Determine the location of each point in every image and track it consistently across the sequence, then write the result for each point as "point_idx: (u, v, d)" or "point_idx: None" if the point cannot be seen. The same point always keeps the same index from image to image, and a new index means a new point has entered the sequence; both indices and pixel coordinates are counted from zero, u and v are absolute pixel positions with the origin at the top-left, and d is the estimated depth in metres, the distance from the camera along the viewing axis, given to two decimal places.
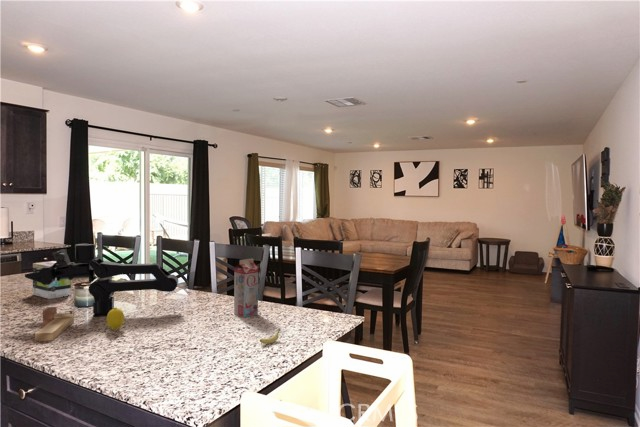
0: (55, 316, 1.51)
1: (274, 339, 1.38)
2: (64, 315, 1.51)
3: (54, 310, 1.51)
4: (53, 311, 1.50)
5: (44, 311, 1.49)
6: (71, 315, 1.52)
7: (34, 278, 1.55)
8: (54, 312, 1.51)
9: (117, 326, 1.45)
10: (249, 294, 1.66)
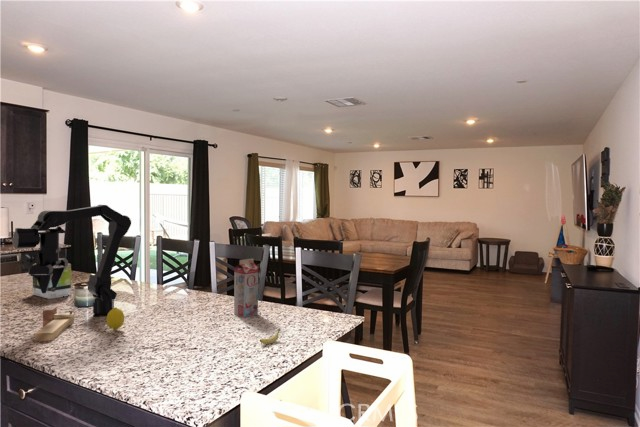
0: (55, 316, 1.51)
1: (274, 339, 1.38)
2: (64, 315, 1.51)
3: (54, 310, 1.51)
4: (53, 311, 1.50)
5: (44, 311, 1.49)
6: (71, 315, 1.52)
7: (45, 283, 1.45)
8: (54, 312, 1.51)
9: (117, 326, 1.45)
10: (249, 294, 1.66)
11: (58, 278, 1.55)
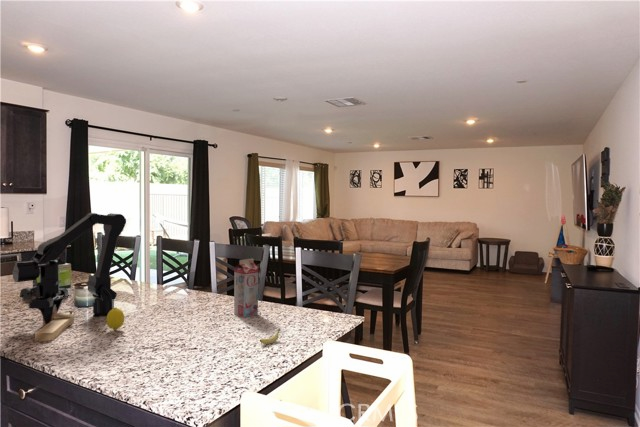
0: (55, 316, 1.51)
1: (274, 339, 1.38)
2: (64, 315, 1.51)
3: (54, 310, 1.51)
4: None
5: None
6: (71, 315, 1.52)
7: (49, 314, 1.48)
8: (54, 312, 1.51)
9: (117, 326, 1.45)
10: (249, 294, 1.66)
11: None
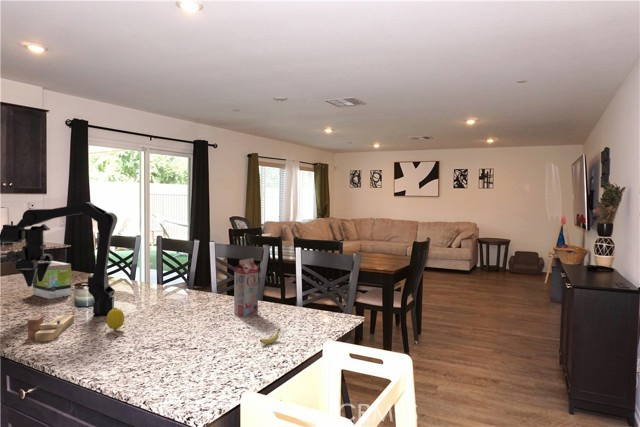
0: (41, 326, 1.39)
1: (274, 339, 1.38)
2: (51, 325, 1.40)
3: (40, 320, 1.40)
4: (39, 321, 1.39)
5: (29, 321, 1.37)
6: (58, 325, 1.40)
7: (31, 277, 1.55)
8: (40, 322, 1.40)
9: (117, 326, 1.45)
10: (249, 294, 1.66)
11: (43, 272, 1.65)
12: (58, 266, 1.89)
